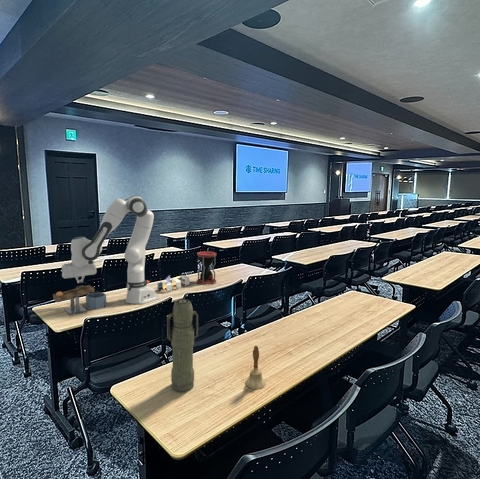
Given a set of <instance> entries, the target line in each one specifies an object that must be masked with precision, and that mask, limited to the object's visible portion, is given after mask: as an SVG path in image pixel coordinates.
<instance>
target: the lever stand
mask: <svg viewBox="0 0 480 479" xmlns="http://www.w3.org/2000/svg"><path fill="white" fill-rule="evenodd" d="M69 300H70V307H66V308H63V312H65V313H66V314H68V316H75V315H79V314H82V313H83V312H84V313H87V312H88V310H87V309H86V308H84V306H82V305H81V304H80V296H79V294H75V298H71V299H69ZM84 313H83V314H84ZM74 314H75V315H74Z"/></svg>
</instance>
